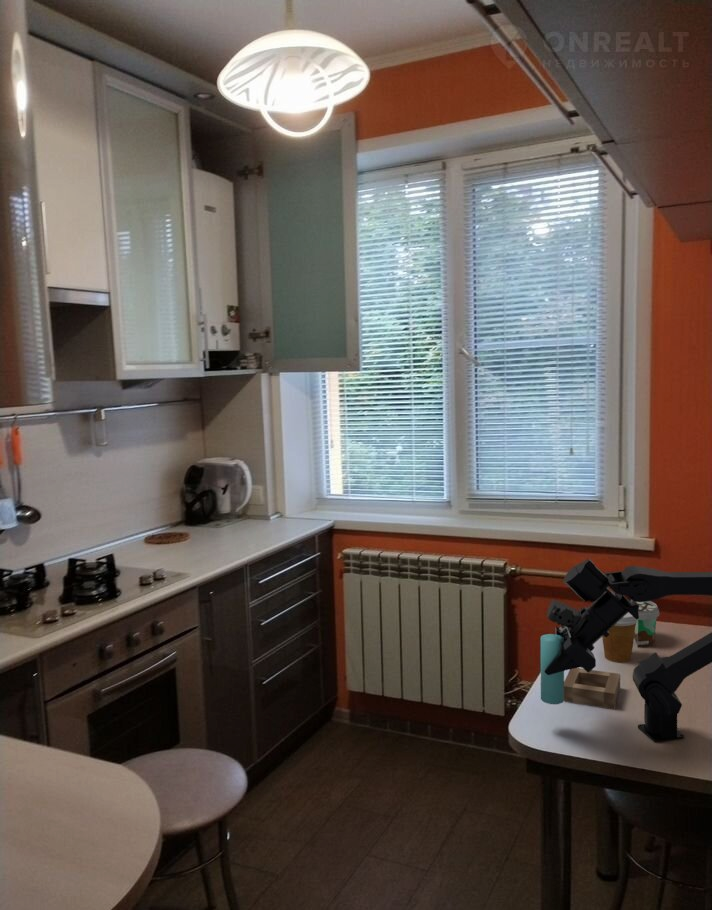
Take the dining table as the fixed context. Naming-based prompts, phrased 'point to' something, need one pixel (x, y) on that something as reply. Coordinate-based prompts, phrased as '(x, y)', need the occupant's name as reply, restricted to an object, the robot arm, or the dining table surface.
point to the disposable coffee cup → (620, 640)
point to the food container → (646, 624)
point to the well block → (592, 688)
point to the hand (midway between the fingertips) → (544, 668)
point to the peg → (555, 682)
